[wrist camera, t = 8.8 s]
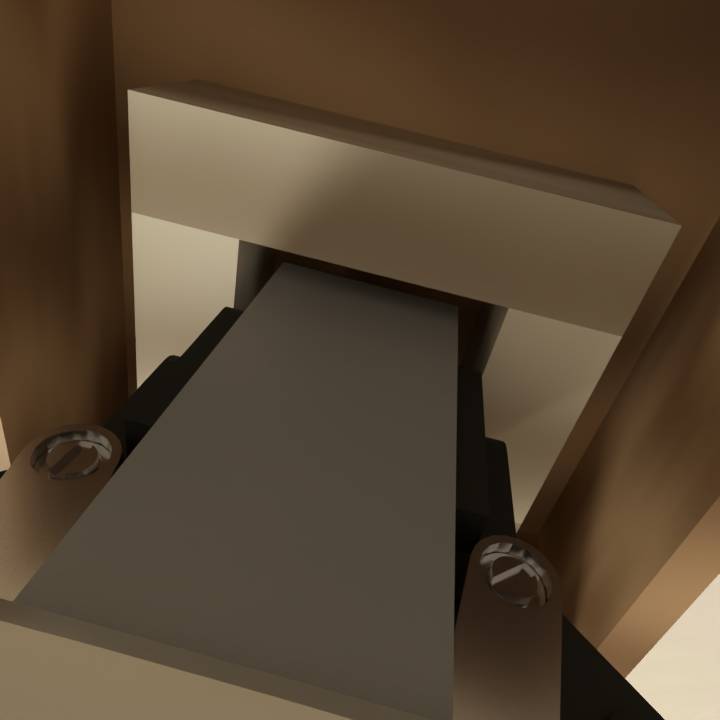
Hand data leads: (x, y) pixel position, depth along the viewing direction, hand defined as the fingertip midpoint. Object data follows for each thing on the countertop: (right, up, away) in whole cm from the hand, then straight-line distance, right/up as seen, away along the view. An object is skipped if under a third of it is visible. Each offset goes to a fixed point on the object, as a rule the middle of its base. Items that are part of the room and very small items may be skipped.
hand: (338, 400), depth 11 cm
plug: (0, +1, +1) cm, 2 cm away
